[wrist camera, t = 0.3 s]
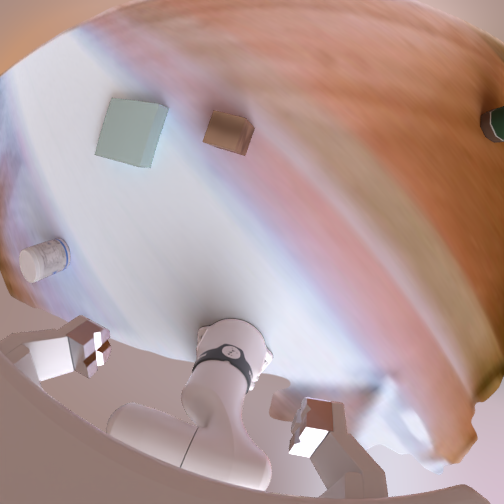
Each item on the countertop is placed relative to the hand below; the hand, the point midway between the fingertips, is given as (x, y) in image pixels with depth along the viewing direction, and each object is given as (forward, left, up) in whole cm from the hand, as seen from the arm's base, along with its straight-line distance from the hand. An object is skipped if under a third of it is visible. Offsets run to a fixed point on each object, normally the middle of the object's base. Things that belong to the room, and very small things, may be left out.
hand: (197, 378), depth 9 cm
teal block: (+9, +38, -47) cm, 61 cm away
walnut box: (+13, +14, -47) cm, 50 cm away
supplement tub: (-29, +57, -47) cm, 79 cm away
